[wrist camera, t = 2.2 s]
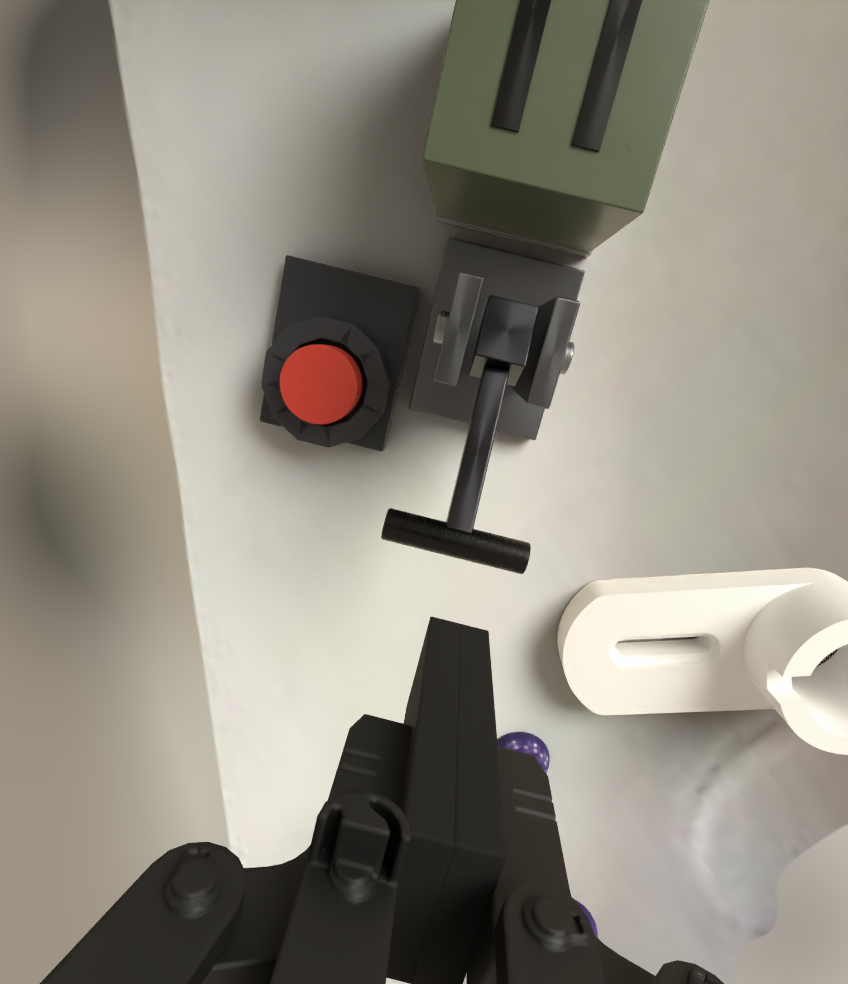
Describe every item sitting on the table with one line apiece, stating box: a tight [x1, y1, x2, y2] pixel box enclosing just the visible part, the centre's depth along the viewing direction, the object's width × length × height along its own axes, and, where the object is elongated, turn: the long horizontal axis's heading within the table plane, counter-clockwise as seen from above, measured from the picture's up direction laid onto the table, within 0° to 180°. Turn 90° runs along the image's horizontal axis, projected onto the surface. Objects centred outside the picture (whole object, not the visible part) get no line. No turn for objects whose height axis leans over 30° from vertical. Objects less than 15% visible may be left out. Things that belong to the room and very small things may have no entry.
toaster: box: [423, 0, 709, 257], centre depth 26 cm, size 11×9×11 cm
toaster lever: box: [381, 295, 539, 574], centre depth 24 cm, size 11×6×2 cm, turn 167°
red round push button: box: [280, 344, 362, 424], centre depth 32 cm, size 4×4×2 cm
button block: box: [260, 255, 420, 451], centre depth 34 cm, size 10×8×3 cm
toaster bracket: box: [409, 238, 585, 440], centre depth 29 cm, size 10×8×12 cm
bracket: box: [557, 568, 848, 755], centre depth 35 cm, size 20×9×7 cm, turn 96°
